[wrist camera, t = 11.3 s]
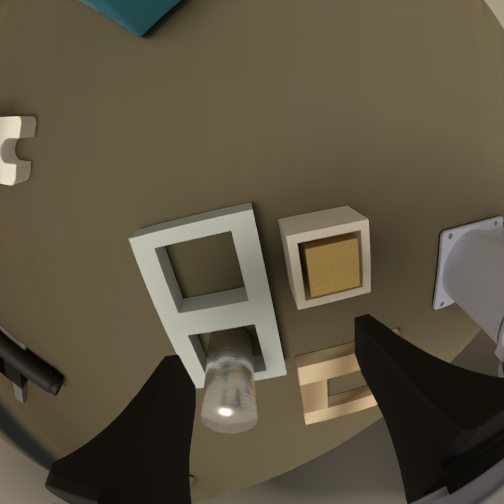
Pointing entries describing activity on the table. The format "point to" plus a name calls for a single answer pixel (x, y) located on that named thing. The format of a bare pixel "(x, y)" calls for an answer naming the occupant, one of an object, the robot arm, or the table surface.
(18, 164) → the cable organizer
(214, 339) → the grey rounded cylinder
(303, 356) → the wooden square frame
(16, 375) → the submachine gun
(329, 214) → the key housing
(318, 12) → the table surface
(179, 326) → the frame
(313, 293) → the key
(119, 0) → the data package
